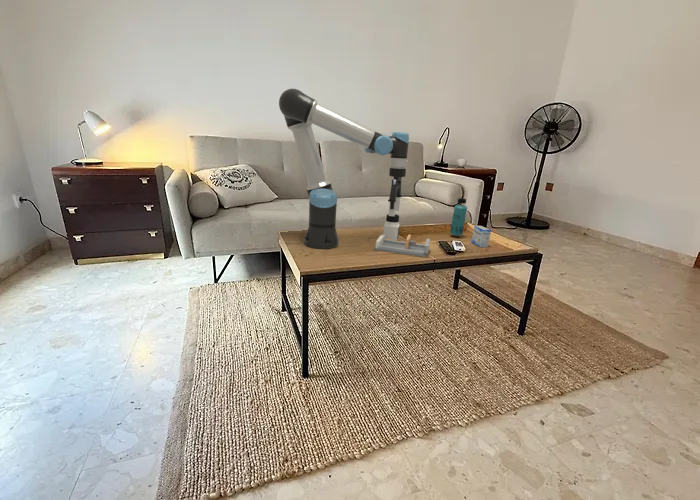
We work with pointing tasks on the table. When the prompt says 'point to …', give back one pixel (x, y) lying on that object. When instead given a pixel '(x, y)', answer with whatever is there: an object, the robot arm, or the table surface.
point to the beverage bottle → (458, 218)
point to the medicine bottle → (391, 227)
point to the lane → (402, 247)
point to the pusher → (409, 242)
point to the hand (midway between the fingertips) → (393, 213)
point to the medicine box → (481, 236)
